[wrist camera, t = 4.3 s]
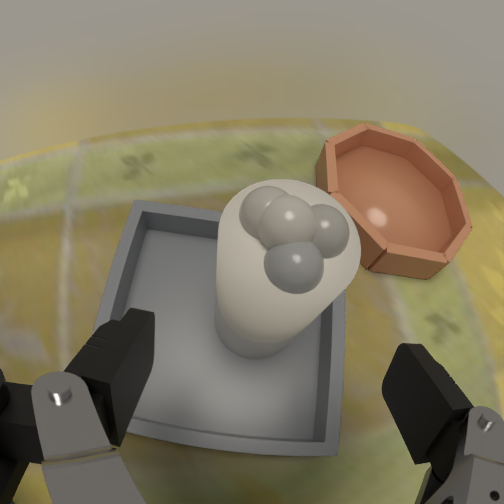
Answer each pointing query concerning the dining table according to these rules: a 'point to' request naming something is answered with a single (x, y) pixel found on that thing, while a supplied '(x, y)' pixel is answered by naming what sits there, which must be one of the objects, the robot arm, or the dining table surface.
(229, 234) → the pebble jar
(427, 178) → the orange shallow octagonal tray
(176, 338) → the parts tray
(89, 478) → the robot arm
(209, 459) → the dining table surface
